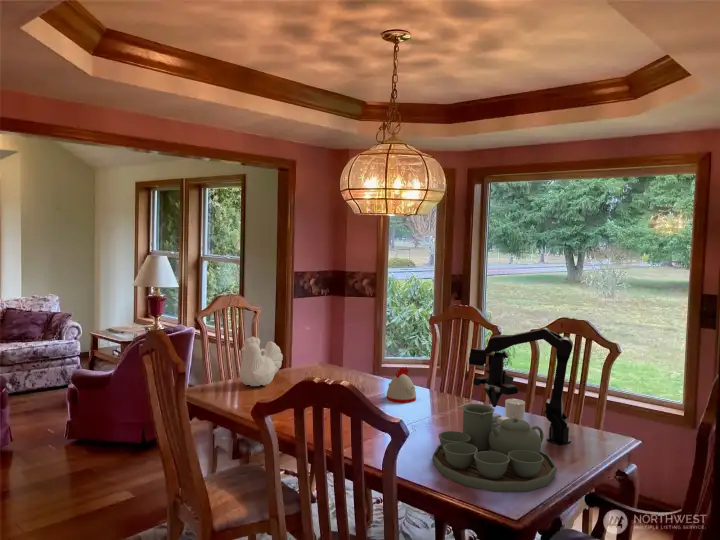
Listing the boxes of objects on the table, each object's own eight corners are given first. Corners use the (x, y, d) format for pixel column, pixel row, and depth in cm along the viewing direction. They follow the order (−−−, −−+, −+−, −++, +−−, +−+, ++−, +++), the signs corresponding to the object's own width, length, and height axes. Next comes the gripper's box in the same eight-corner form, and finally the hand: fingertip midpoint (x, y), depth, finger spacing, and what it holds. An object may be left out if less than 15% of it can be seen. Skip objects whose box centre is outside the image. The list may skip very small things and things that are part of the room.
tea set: (409, 466, 199) (410, 418, 198) (477, 439, 227) (479, 396, 226) (514, 507, 171) (516, 450, 170) (577, 470, 199) (580, 422, 198)
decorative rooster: (246, 391, 286) (247, 340, 284) (233, 384, 298) (233, 335, 297) (292, 385, 300) (293, 336, 299) (277, 378, 313) (278, 331, 312)
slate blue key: (500, 422, 234) (501, 415, 234) (493, 424, 232) (494, 416, 232) (493, 419, 238) (493, 412, 238) (486, 421, 236) (486, 414, 235)
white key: (512, 426, 230) (512, 419, 229) (504, 428, 227) (505, 420, 227) (504, 424, 233) (504, 416, 233) (497, 425, 231) (497, 418, 231)
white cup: (502, 426, 243) (503, 402, 242) (507, 421, 250) (508, 397, 249) (521, 429, 239) (522, 405, 238) (526, 424, 246) (527, 400, 245)
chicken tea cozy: (422, 399, 279) (423, 368, 278) (401, 404, 270) (402, 372, 269) (400, 393, 290) (401, 362, 289) (380, 398, 280) (381, 366, 280)
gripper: (528, 370, 230) (526, 410, 231) (492, 361, 246) (491, 398, 247) (508, 373, 224) (506, 414, 225) (473, 363, 240) (471, 402, 241)
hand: (494, 406), depth 235 cm, fingers closed
